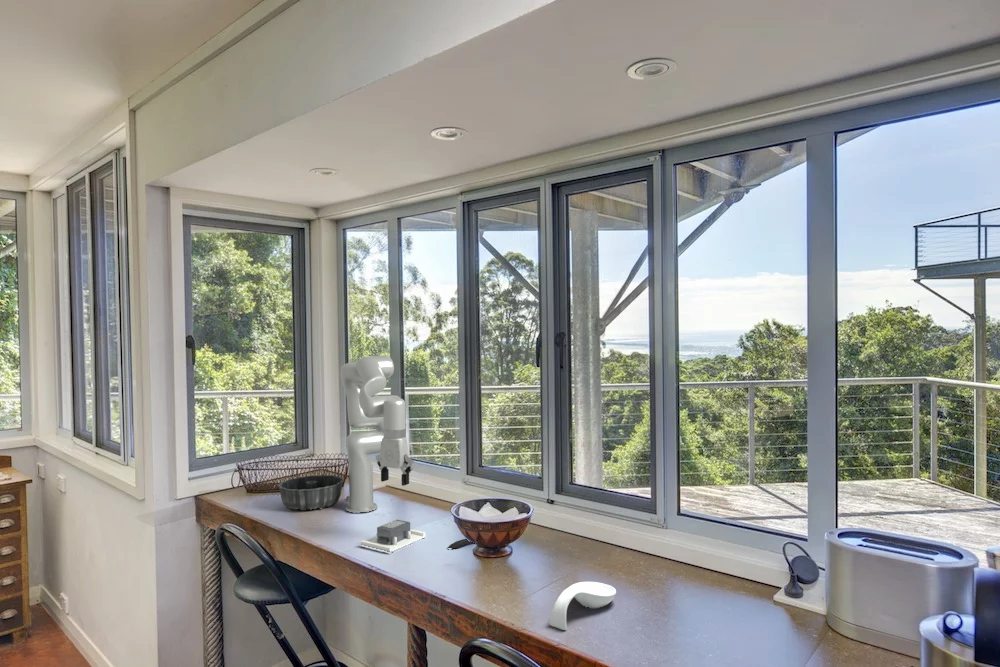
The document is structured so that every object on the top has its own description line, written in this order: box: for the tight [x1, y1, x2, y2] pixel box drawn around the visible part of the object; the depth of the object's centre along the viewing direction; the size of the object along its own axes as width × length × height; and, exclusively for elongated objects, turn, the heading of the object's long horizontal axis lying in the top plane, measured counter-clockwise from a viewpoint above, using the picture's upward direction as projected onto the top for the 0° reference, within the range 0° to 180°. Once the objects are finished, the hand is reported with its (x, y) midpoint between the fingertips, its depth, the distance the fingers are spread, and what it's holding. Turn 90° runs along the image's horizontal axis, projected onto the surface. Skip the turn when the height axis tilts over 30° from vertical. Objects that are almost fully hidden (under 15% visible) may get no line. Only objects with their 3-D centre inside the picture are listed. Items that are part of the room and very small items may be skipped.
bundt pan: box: [277, 474, 345, 511], centre depth 259 cm, size 26×26×10 cm
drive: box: [376, 519, 411, 545], centre depth 211 cm, size 6×11×5 cm, turn 147°
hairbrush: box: [447, 538, 471, 549], centre depth 211 cm, size 8×4×25 cm
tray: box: [360, 528, 426, 552], centre depth 211 cm, size 13×18×4 cm
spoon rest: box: [549, 581, 617, 631], centre depth 158 cm, size 24×12×7 cm, turn 143°
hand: (395, 482), depth 216 cm, fingers open, 9 cm apart
